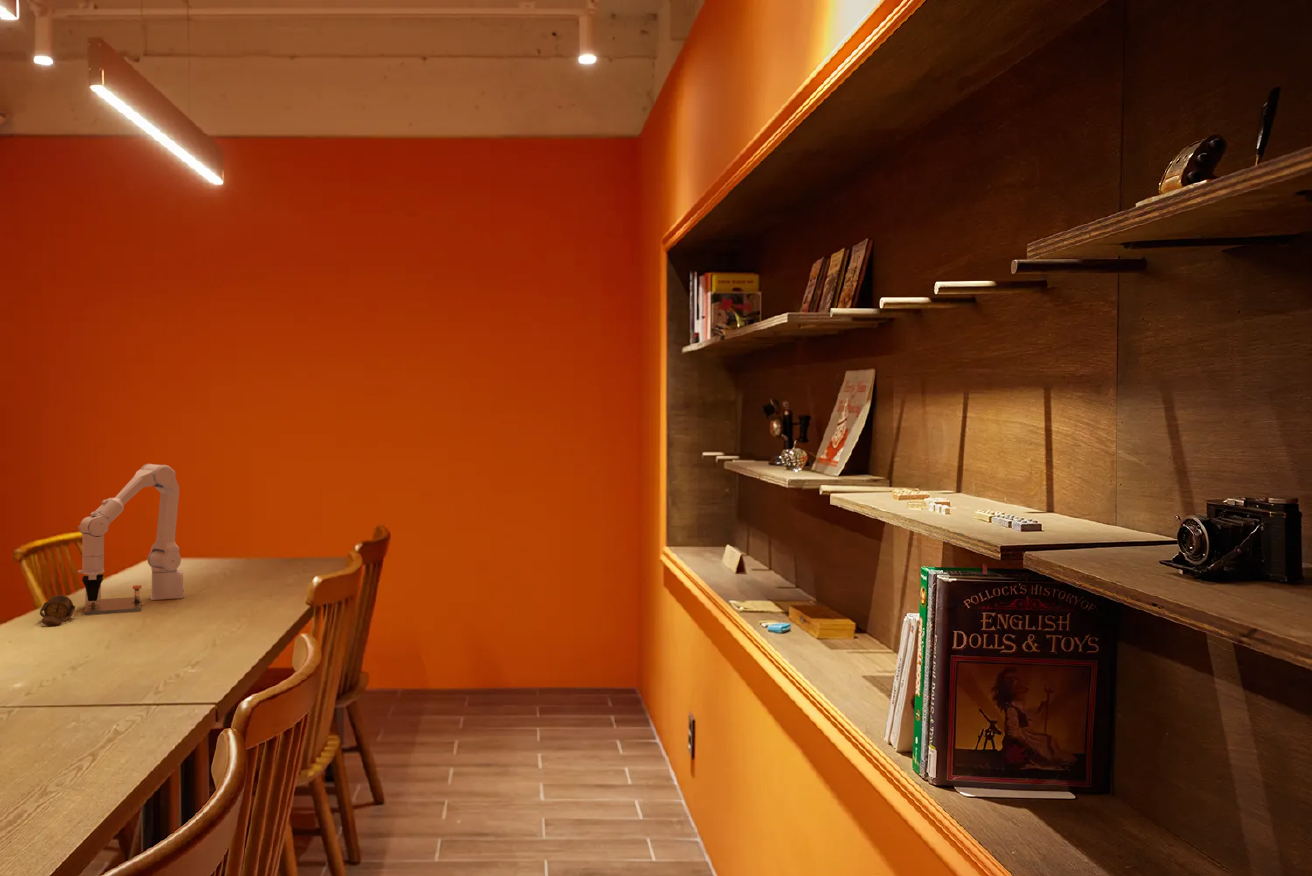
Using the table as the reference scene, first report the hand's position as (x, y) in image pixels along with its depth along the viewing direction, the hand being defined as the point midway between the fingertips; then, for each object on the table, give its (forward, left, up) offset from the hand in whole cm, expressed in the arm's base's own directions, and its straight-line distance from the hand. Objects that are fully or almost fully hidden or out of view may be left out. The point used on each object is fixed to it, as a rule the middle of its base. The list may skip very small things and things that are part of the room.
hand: (92, 599), depth 298 cm
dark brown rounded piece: (+9, +17, -3) cm, 20 cm away
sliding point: (0, 0, -1) cm, 1 cm away
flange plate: (-6, 0, -3) cm, 6 cm away
